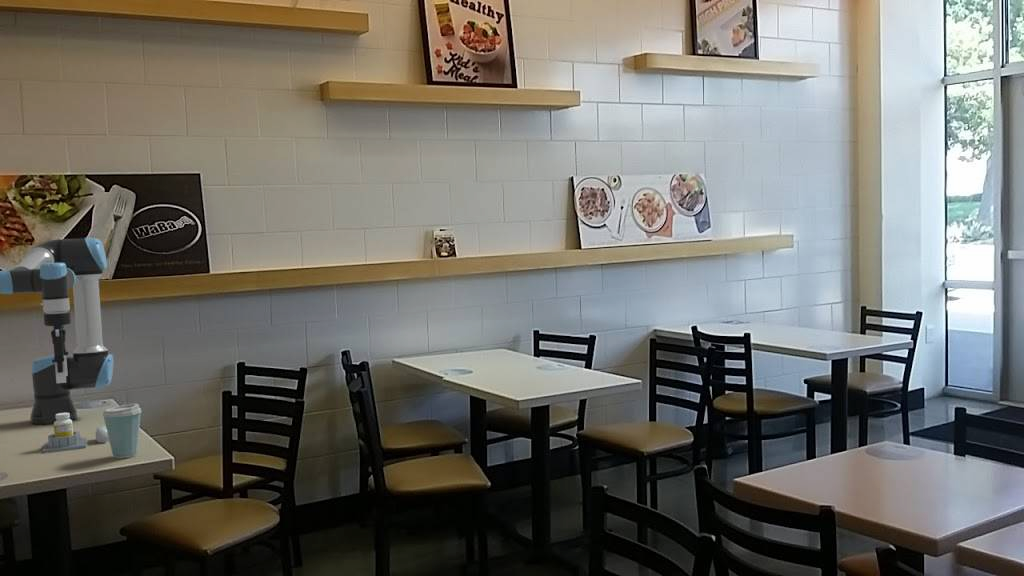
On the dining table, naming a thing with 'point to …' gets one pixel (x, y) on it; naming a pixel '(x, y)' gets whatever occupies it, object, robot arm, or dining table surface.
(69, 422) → the supplement bottle
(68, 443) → the coupling socket
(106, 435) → the pipe stub
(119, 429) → the disposable coffee cup
